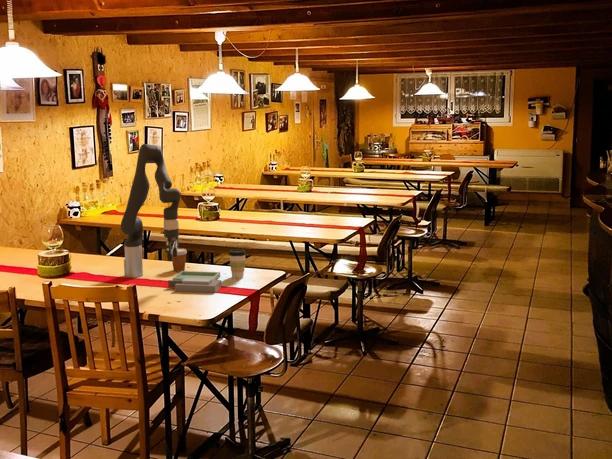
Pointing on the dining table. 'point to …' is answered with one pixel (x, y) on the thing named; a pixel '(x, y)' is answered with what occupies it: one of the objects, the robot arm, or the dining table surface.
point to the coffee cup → (237, 262)
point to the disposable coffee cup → (179, 260)
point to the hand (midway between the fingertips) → (172, 258)
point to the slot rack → (199, 287)
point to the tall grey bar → (189, 281)
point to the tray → (197, 275)
